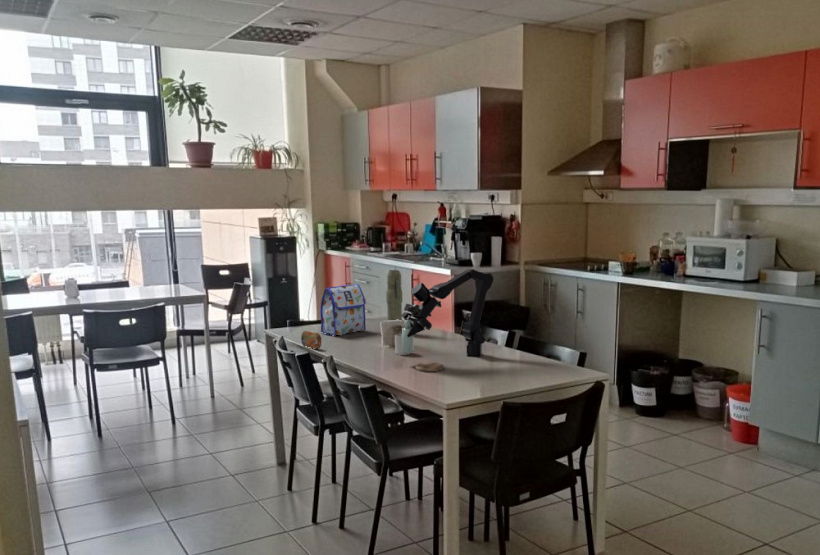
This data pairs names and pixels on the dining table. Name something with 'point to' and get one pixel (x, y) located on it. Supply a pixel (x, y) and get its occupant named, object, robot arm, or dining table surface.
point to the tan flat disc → (429, 366)
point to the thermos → (394, 295)
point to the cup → (399, 345)
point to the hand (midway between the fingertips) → (404, 335)
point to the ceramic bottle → (407, 338)
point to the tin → (311, 339)
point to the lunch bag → (343, 310)
